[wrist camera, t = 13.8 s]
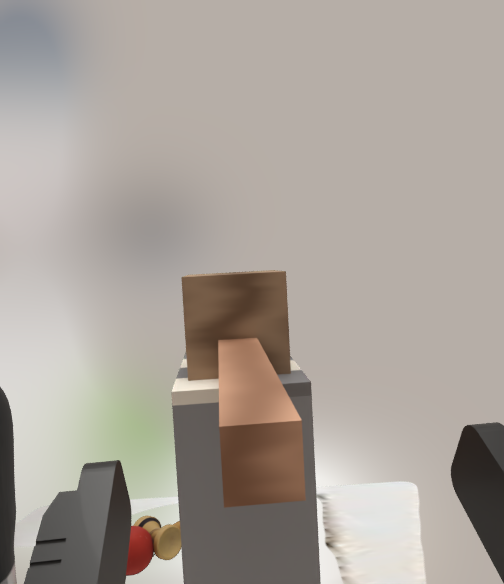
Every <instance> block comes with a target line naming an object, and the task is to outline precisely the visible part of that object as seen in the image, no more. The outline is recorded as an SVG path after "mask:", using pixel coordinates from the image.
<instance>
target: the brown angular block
mask: <svg viewBox="0 0 504 584" xmlns="http://www.w3.org/2000/svg"><path fill="white" fill-rule="evenodd" d="M182 291H183V306H184V322H185V339H186V355H187V371H188V381H193V380H207V379H219V431H220V448H221V465H222V482H223V499H224V508H226V507H238V506H249V505H260V504H272V503H283V502H294V501H306V496H305V476H304V455H303V435H302V420H301V418H300V416H299V414H298V412H297V411H296V409H295V407H294V405H293V403H292V401H291V399H290V398H289V396H288V394H287V392H286V390H285V388H284V387H283V385H282V383H281V381H280V379H279V377H278V374H291V366H290V346H289V326H288V307H287V286H286V272H285V271H275V270H270V271H251V272H233V273H216V274H198V275H187V276H184V277H182Z"/></svg>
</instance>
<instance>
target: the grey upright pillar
mask: <svg viewBox="0 0 504 584" xmlns="http://www.w3.org/2000/svg"><path fill="white" fill-rule="evenodd" d="M290 366H291V374H278V377H279V379H280V381H281V383H282V385H283V387H284V388H285V390H286V392H287V394H288V396H289V398H290V399H291V401H292V403H293V405H294V407H295V409H296V411H297V412H298V414H299V416H300V418H301V420H302V435H303V455H304V476H305V496H306V501H294V502H283V503H272V504H260V505H249V506H238V507H226V508H224V499H223V482H222V465H221V448H220V431H219V379H207V380H193V381H188V371H187V355H186V353H185V356H184V359H183V361H182V364H181V367H180V370H179V372H178V375H177V378H176V381H175V384H174V386H173V389H172V407H173V421H174V438H175V453H176V469H177V484H178V500H179V514H180V531H181V546H182V561H183V575H184V576H183V577H184V584H320V564H319V543H318V522H317V501H316V480H315V458H314V438H313V417H312V396H311V395H312V394H311V381H310V380H309V379H308V378H307V376H306V375H305V374H304V373H303V371H302V370H301V369H300V368H299V366H298V365H297V364H296V363H295V361H294V360H293V359H292V358H291V356H290Z"/></svg>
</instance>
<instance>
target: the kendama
mask: <svg viewBox="0 0 504 584" xmlns="http://www.w3.org/2000/svg"><path fill="white" fill-rule="evenodd" d="M181 547H182V546H181V531H180V521H178V522H176V523H175V524H173V525H170V524H169V525H165V526H163V527H162V528H161V524H160V522H159V521H158V520H157V519H156V518H155V517H151V516H143V517H141V518H140V519H138V520H137V521H136V522H135V524H134V526H131V533H130V542H129V552H128V561H127V570H126V576H128V575H135V574H138V573H139V572H141V571H143V570H144V569H145V568H146V567H147V566H148V565H149V563H150V561H151V559H152V557H153V556H154V555H155V554H156V556H157V557H158V558H160V559H163V560H170V559H172V558H173V557H175V556H176V555H177V554H178V553H179V551H180V549H181ZM154 552H155V554H154V555H153V553H154Z"/></svg>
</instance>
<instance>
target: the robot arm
mask: <svg viewBox="0 0 504 584" xmlns="http://www.w3.org/2000/svg"><path fill="white" fill-rule="evenodd" d="M451 478H452V483H453V487H454V490H455V492H456V494H457V496H458V498H459V500H460V502H461V504H462V505H463V508H464V509H465V511H466V513H467V515H468V517H469V519H470V521H471V522H472V524H473V526H474V528H475V530H476V532H477V534H478V536H479V538H480V540H481V541H482V543H483V545H484V547H485V549H486V551H487V552H488V555H489V556H490V558H491V560H492V562H493V564H494V566H495V568H496V569H497V571H498V573H499V575H500V577H501V579H502V581H503V583H504V426H503V425H502V424H500V423H486V424H475V425H467V426H465V427H464V428H463V431H462V434H461V437H460V440H459V443H458V447H457V450H456V454H455V457H454V460H453V463H452V466H451ZM15 520H16V503H15V485H14V439H13V422H12V415H11V409H10V406H9V402H8V399H7V397H6V395H5V393H4V391H3V390H2V389H1V387H0V584H17V582H16V570H15V556H14V532H15ZM130 533H131V505H130V499H129V495H128V491H127V486H126V482H125V478H124V474H123V469H122V466H121V462H120V461H119V460H117V461H107V462H96V463H86V464H85V465H84V466H83V468H82V472H81V476H80V480H79V485H78V489H77V491H66V492H59V493H58V495H57V496H56V498H55V499H54V500H53V502H52V503H51V505H50V506H49V508H48V509H47V511H46V512H45V513H44V515H43V517H42V521H41V525H40V528H39V532H38V535H37V539H36V546H34V550H33V553H32V557H31V560H30V568H28V571H27V574H26V578H25V582H24V584H125V579H126V570H127V561H128V552H129V542H130Z"/></svg>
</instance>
